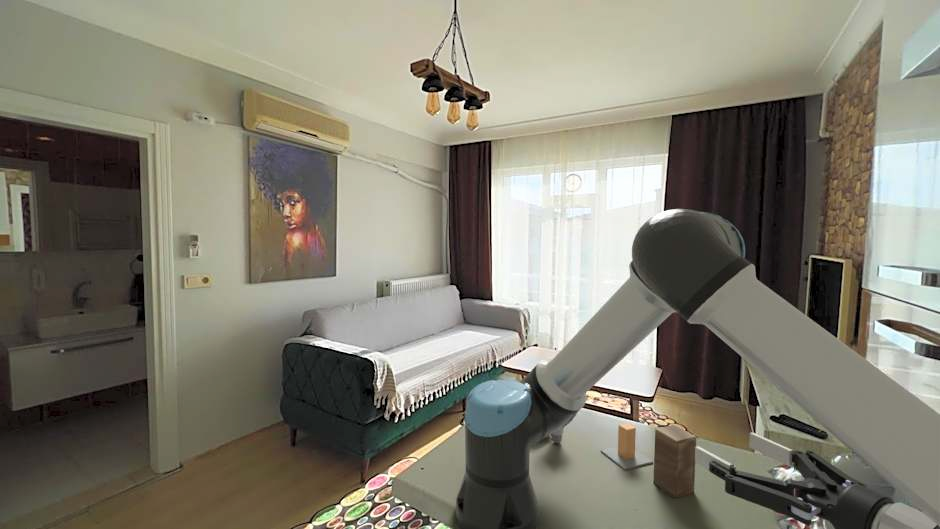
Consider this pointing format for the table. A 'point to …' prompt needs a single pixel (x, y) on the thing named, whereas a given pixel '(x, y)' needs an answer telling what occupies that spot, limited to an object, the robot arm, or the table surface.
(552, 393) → the robot arm
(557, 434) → the lightbulb
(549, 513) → the table surface
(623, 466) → the grey square base plate
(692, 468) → the brown wooden block
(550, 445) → the table surface
